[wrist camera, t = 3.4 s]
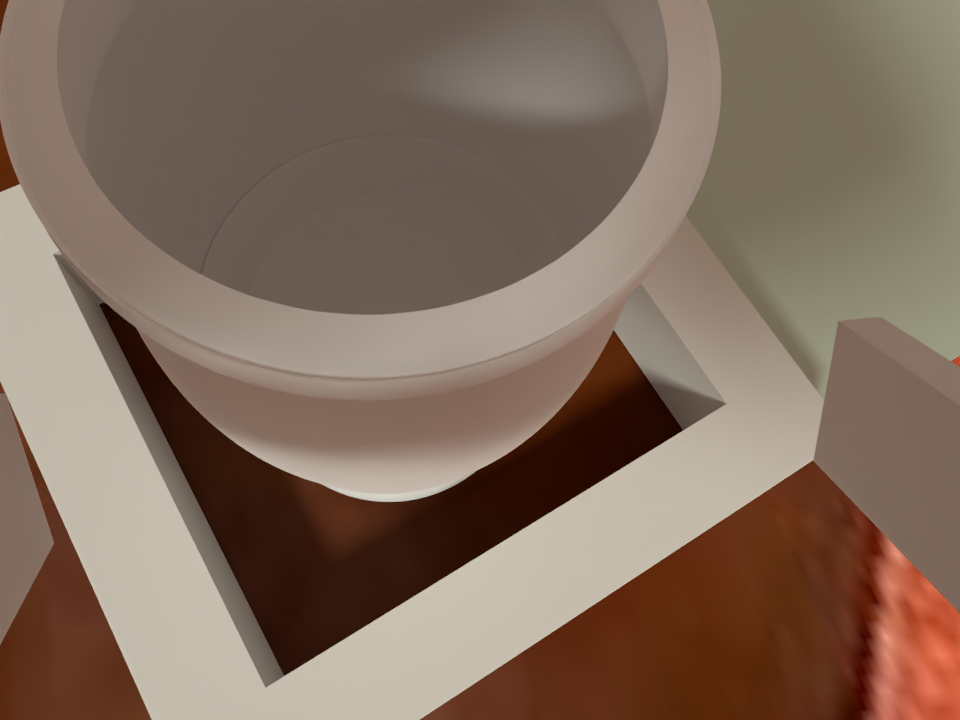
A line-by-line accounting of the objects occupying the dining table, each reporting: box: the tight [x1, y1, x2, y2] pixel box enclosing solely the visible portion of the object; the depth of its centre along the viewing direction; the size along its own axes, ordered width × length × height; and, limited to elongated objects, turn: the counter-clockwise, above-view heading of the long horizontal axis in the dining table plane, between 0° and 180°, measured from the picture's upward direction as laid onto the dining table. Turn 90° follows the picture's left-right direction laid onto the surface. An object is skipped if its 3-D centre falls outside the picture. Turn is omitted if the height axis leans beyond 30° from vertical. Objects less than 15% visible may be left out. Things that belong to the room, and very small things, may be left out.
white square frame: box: [0, 184, 824, 720], centre depth 24 cm, size 18×19×4 cm
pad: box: [686, 0, 960, 400], centre depth 29 cm, size 16×16×1 cm
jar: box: [0, 0, 721, 502], centre depth 18 cm, size 11×10×15 cm
